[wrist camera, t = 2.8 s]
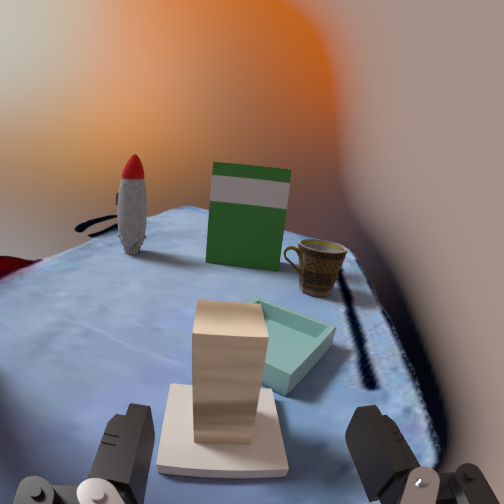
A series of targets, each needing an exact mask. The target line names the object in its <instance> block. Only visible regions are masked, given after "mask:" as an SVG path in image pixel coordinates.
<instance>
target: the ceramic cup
mask: <svg viewBox="0 0 504 504" xmlns="http://www.w3.org/2000/svg"><path fill="white" fill-rule="evenodd" d="M290 249H292V250H295V251H296V252H297V255H298V256H299V268H296V267H295V265H294V264H293V263H292V262H291V261H290V260H289V259H288V258H287V257H286V252H287V251H288V250H290ZM346 252H347V249H346V248H345V247H344V246H342V245H340V244H337V243H333V242H330V241H325V240H319V239H303V240H300V241H299V245H298V249H297V248H296V247H294V246H289V247H287V248H286V249H285V251H284V257H285V259H286V260H287V261H288V262H289V263H290V264H291V265H292V266H293V267H294V268H295V269H296V270H297V272H298V274H299V289H300V290H301V291H302V293H304V294H307V295H310V296H313V297H326V296H327V295H329V294H330V293H331V291H332V289H333V286H334V283H335V281H336V278H337V276H338V273H339V270H340V268H341V266H342V264H343V261H344V259H345V256H346Z"/></svg>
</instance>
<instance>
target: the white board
mask: <svg viewBox="0 0 504 504" xmlns="http://www.w3.org/2000/svg"><path fill="white" fill-rule="evenodd" d="M156 465H157V469H158V473H164V474H173V475H182V476H193V477H209V478H272V477H286V475H287V472H288V470H289V466H288V462H287V457H286V453H285V448H284V443H283V439H282V434H281V429H280V425H279V420H278V415H277V411H276V406H275V401H274V396H273V392H272V389H265V388H261V389H260V395H259V400H258V406H257V412H256V417H255V423H254V428H253V434H252V439H251V444H212V443H196V442H194V431H193V394H192V385H182V384H172V383H171V384H170V390H169V395H168V400H167V405H166V411H165V416H164V421H163V427H162V433H161V439H160V445H159V451H158V457H157V463H156Z"/></svg>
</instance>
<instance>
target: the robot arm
mask: <svg viewBox="0 0 504 504" xmlns="http://www.w3.org/2000/svg"><path fill="white" fill-rule="evenodd" d="M345 439H346V444H347V446H348V449H349V451H350V454H351V456H352V459H353V461H354V464H355V466H356V469H357V471H358V474H359V476H360V479H361V482H362V484H363V487H364V489H365V492H366V494H367V497H368V499H369V502H372V501H376V500H380V502H381V504H500V503H499V502H498V500H497V498H496V496H495V494H494V493H493V491H492V489H491V487H490V486H489V484H488V482H487V481H486V479H485V477H484V475H483V474H482V472H481V470H480V469H479V468H478V467H477V466H476V465H473V464H470V463H467V464H463V465H461V466H459V467H458V469H457V470H456V471H455V472H452V473H440V474H438V473H436V472H435V471H434V470H433V469H431V468H428V467H421V466H420V464H419V463H418V461H417V459H416V457H415V456H414V454H413V452H412V450H411V449H410V447H409V445H408V444H407V442H406V440H404V437H403V435H402V433H400V430H399V428H398V426H397V425H396V423H395V422H394V421H393V420H392V419H391V418H389V417H388V416H387V415H382V414H381V412H380V410H379V409H378V407H377V406H376V405H370V406H363V407H357V408H356V410H355V412H354V414H353V417H352V419H351V421H350V423H349V426H348V428H347V430H346V434H345ZM154 440H155V432H154V425H153V420H152V414H151V408H150V406H145V405H139V404H132V403H131V404H130V405H129V407H128V410H127V413H126V416H125V415H119V414H116V415H115V416H114V417H113V418H112V419H111V420H110V421H109V422H108V423H107V426H106V429H105V431H104V435H103V437H102V440H101V444H100V445H99V448H98V451H97V454H96V457H95V460H94V463H93V466H92V469H91V472H90V474H89V476H88V478H87V479H86V480H85V481H83V482H82V483H80V484H77V485H72V486H66V485H51V484H50V483H49V482H48V481H47V480H45V479H44V478H42V477H39V476H28V477H26V478H24V479H23V480H22V481H21V482H20V484H19V486H18V489H17V492H16V495H15V497H14V500H13V503H12V504H143V503H144V497H145V491H146V485H147V479H148V473H149V468H150V463H151V457H152V452H153V447H154Z"/></svg>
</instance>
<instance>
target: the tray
mask: <svg viewBox="0 0 504 504" xmlns="http://www.w3.org/2000/svg"><path fill="white" fill-rule="evenodd" d="M246 303H257V304H261V307H262V311H263V315H264V319H265V323H266V327H267V331H268V336H269V340H268V347H267V353H266V359H265V365H264V371H263V377H262V383H261V385H262V386H264V387H266V388H268V389H272V391H274V392H276V393H278V394H280V395H282V396H285V397H286V396H287V395H288V394H289V393H290V392H291V391H292V390H293V388H294V387H295V386H296V385H297V384H298V383H299V382H300V381H301V380H302V379H303V378H304V377H305V375H306V374H307V373H308V372H309V371H310V370H311V369H312V368H313V366H314V365H315V364H316V363H317V362H318V361H319V360H320V358H321V357H322V356H323V355H324V354H325V353H326V351H327V350H328V349H329V348H330V347H331V345H332V341H333V337H334V334H335V330H336V326H335V325H332V324H329V323H327V322H324V321H321V320H318V319H315V318H313V317H310V316H307V315H304V314H302V313H299V312H296V311H294V310H291V309H288V308H286V307H283V306H280V305H278V304H275V303H272V302H270V301H267V300H264V299H262V298H259V297H255V298H253V299H251V300H249V301H247V302H246Z"/></svg>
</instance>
